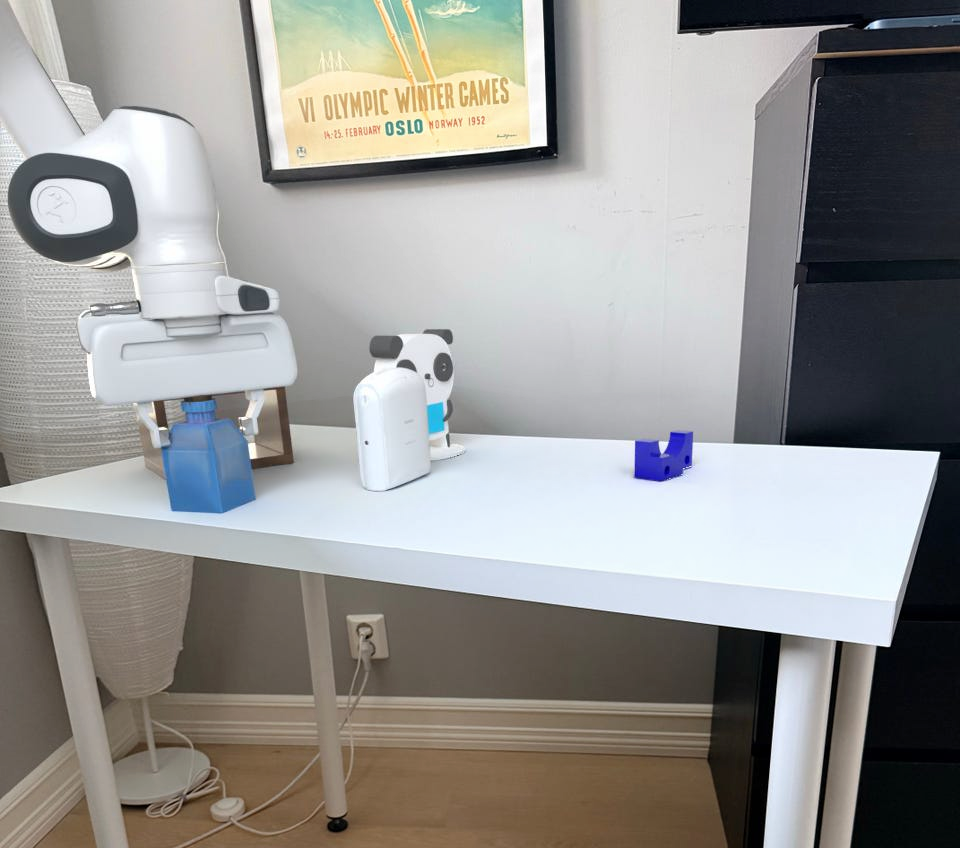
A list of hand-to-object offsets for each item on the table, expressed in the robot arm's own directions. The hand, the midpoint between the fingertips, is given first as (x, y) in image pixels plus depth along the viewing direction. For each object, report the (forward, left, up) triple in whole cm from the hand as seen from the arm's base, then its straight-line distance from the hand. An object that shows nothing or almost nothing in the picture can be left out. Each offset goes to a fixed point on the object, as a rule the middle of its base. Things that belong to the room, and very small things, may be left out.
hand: (207, 440), depth 95 cm
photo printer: (+20, -3, -7) cm, 21 cm away
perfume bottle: (0, 0, -7) cm, 7 cm away
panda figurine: (+30, +11, -7) cm, 32 cm away
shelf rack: (+7, +23, -7) cm, 25 cm away
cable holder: (+45, -20, -7) cm, 49 cm away
